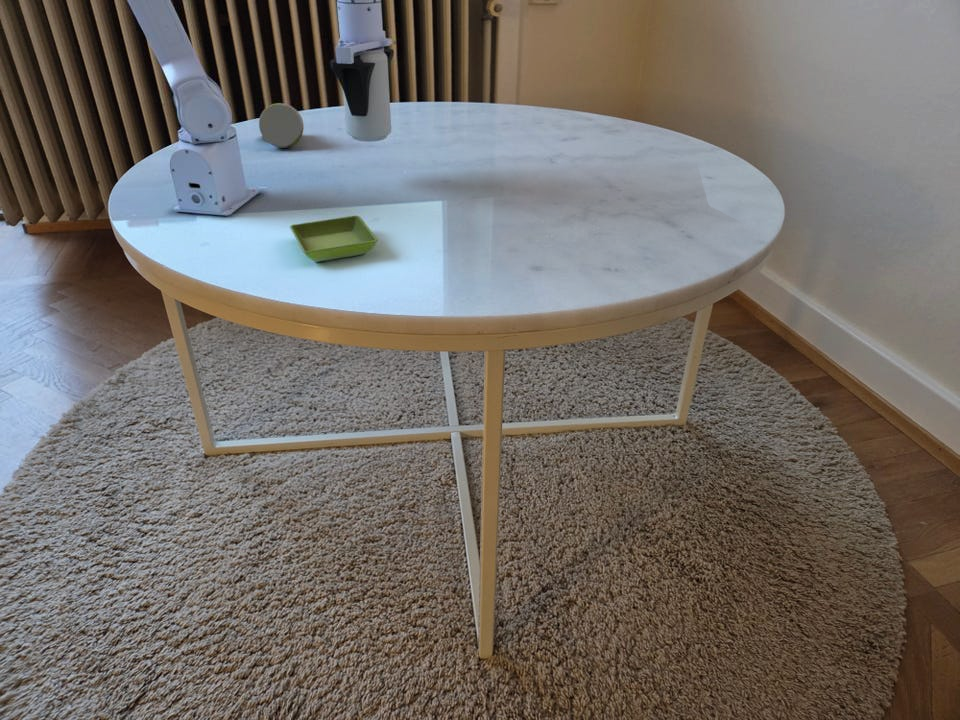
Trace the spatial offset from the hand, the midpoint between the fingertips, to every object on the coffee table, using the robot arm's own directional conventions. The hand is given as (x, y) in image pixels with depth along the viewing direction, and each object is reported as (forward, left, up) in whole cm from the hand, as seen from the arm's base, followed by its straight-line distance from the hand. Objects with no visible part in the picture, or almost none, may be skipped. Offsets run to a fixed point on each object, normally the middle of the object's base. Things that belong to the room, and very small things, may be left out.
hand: (367, 109), depth 96 cm
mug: (+16, +21, -11) cm, 28 cm away
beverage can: (0, 0, -4) cm, 4 cm away
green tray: (-24, -3, -11) cm, 26 cm away
